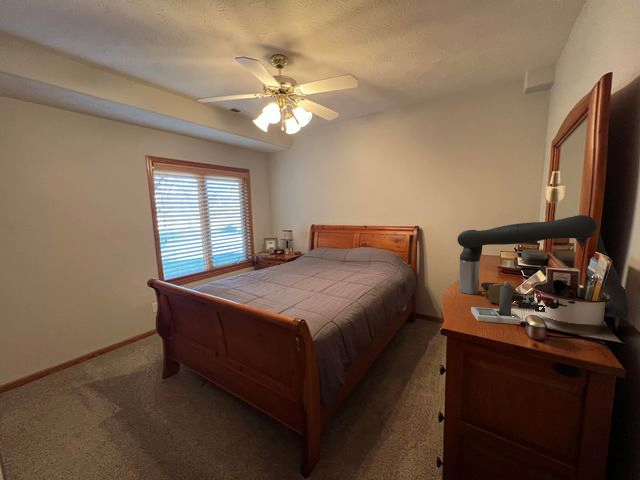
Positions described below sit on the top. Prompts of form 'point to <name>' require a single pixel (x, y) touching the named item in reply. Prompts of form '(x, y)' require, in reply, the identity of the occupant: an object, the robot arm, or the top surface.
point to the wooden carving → (496, 292)
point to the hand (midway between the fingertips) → (513, 301)
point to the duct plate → (494, 315)
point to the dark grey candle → (505, 300)
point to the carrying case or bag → (486, 285)
